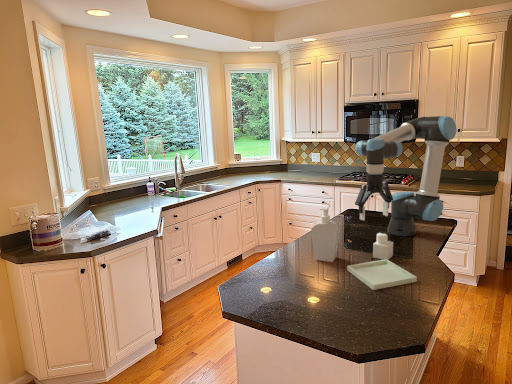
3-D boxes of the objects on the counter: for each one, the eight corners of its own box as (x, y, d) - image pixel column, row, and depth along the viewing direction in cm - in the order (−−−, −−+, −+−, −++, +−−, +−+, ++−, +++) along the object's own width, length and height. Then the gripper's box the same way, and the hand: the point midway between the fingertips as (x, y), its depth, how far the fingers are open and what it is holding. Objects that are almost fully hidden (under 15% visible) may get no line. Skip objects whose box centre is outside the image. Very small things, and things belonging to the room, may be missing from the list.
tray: (386, 263, 164) (386, 259, 164) (416, 281, 145) (416, 276, 145) (347, 270, 159) (347, 265, 159) (373, 289, 140) (373, 285, 140)
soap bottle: (341, 255, 176) (341, 204, 170) (336, 263, 167) (336, 209, 161) (316, 252, 181) (316, 202, 176) (310, 260, 172) (310, 207, 167)
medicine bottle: (378, 253, 177) (378, 229, 174) (392, 256, 172) (393, 232, 170) (372, 257, 171) (373, 233, 169) (387, 260, 167) (388, 236, 164)
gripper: (390, 169, 173) (389, 212, 177) (347, 174, 164) (347, 219, 168) (402, 171, 166) (400, 215, 171) (357, 176, 157) (357, 223, 162)
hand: (374, 217), depth 169 cm, fingers open, 13 cm apart
